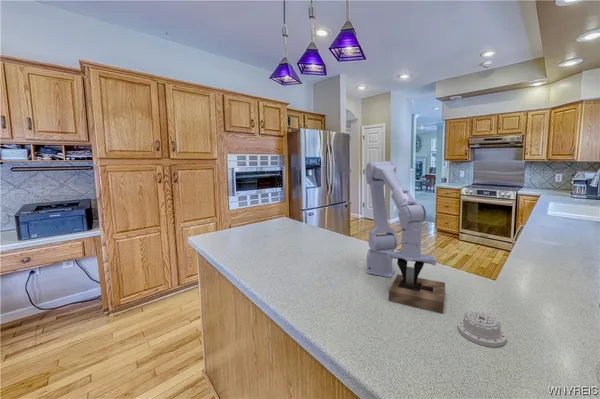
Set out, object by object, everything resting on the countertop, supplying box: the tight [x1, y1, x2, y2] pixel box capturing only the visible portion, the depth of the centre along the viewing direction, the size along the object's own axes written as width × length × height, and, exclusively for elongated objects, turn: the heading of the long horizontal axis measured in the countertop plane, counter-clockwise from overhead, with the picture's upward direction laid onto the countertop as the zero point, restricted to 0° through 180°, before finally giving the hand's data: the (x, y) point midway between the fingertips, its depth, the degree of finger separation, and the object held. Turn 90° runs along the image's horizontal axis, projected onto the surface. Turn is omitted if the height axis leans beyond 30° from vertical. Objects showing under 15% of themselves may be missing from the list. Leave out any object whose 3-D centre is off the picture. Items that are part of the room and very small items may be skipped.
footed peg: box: [403, 266, 419, 291], centre depth 84 cm, size 5×5×9 cm
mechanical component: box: [457, 310, 507, 348], centre depth 65 cm, size 10×4×10 cm
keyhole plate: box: [388, 273, 446, 314], centre depth 83 cm, size 15×14×3 cm
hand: (410, 282), depth 84 cm, fingers closed on footed peg, 2 cm apart
